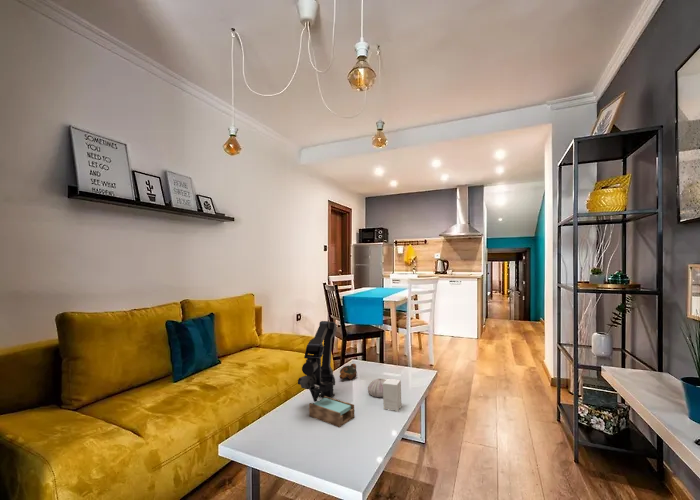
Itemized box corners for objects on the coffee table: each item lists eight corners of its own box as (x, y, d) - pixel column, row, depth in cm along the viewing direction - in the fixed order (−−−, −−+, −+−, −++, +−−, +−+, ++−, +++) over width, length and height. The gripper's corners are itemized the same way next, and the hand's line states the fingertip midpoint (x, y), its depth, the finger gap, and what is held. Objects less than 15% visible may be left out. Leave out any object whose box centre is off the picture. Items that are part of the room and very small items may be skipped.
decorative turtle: (361, 376, 205) (361, 363, 205) (348, 385, 192) (348, 372, 192) (348, 372, 210) (348, 360, 210) (335, 381, 198) (335, 368, 197)
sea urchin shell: (389, 400, 168) (389, 384, 168) (364, 397, 172) (364, 382, 172) (394, 391, 180) (394, 376, 181) (371, 388, 184) (370, 374, 185)
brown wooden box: (309, 416, 151) (309, 403, 151) (324, 407, 159) (324, 395, 160) (339, 427, 140) (339, 413, 140) (354, 417, 149) (354, 404, 149)
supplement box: (401, 405, 161) (401, 380, 161) (397, 412, 154) (397, 385, 155) (387, 403, 164) (387, 378, 164) (382, 409, 157) (382, 382, 158)
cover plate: (312, 407, 151) (312, 403, 151) (324, 400, 158) (324, 397, 158) (339, 416, 142) (339, 412, 142) (351, 409, 148) (350, 405, 149)
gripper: (289, 369, 156) (289, 402, 155) (317, 376, 145) (318, 412, 144) (305, 363, 165) (306, 395, 164) (333, 370, 154) (334, 404, 153)
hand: (315, 401), depth 156 cm, fingers closed
